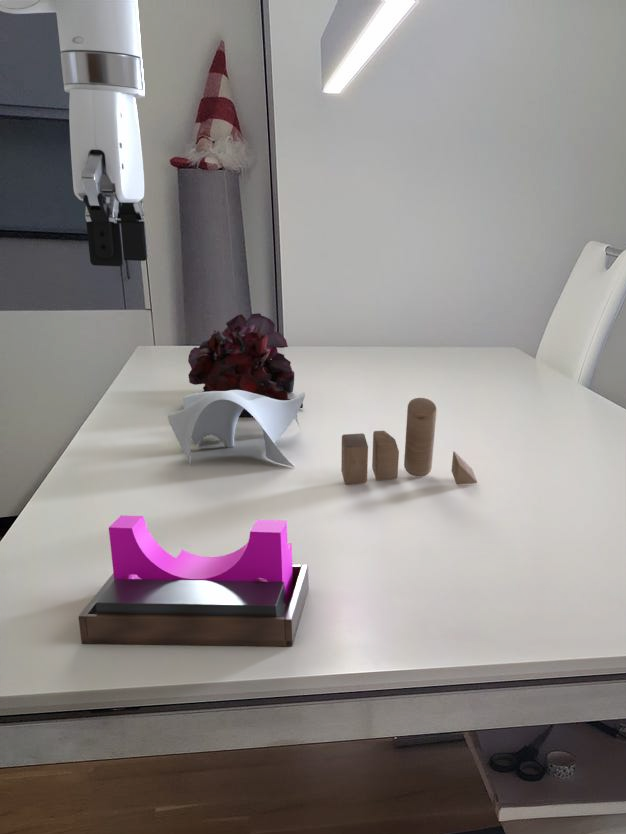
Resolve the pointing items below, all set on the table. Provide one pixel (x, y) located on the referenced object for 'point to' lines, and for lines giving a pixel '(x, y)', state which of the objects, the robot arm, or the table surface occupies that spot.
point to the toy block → (252, 562)
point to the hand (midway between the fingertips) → (120, 262)
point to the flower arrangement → (244, 360)
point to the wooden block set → (387, 452)
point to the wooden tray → (195, 612)
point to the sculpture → (233, 418)
